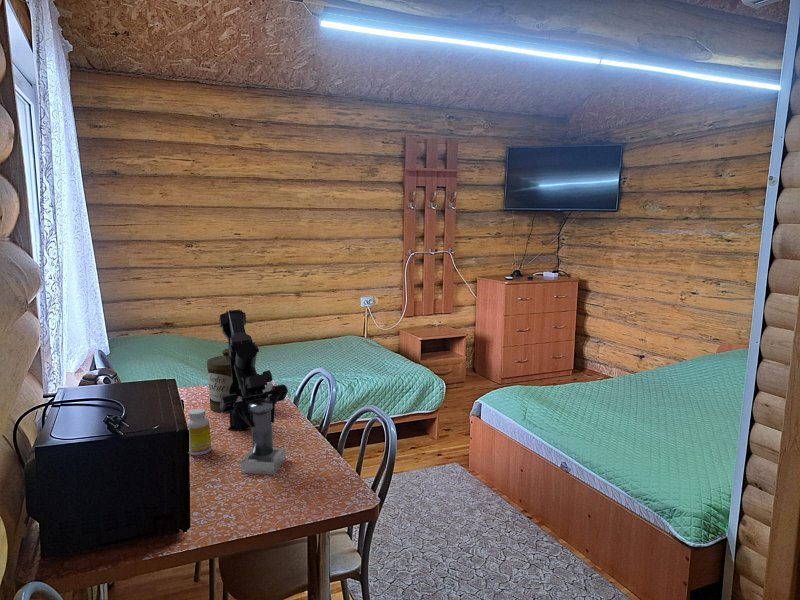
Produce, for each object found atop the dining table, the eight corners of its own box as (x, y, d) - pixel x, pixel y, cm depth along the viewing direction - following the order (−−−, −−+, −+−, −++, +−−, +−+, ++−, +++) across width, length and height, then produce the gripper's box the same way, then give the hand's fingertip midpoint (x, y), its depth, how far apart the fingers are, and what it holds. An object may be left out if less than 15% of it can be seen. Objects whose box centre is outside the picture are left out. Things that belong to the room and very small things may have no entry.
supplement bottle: (215, 451, 172) (212, 410, 170) (194, 458, 167) (191, 416, 165) (204, 445, 176) (201, 405, 174) (184, 451, 172) (181, 411, 170)
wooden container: (201, 410, 208) (197, 352, 204) (228, 397, 221) (224, 343, 218) (233, 415, 202) (230, 355, 199) (259, 402, 216) (256, 346, 212)
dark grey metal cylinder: (247, 456, 158) (244, 407, 155) (256, 446, 164) (253, 398, 162) (270, 457, 157) (267, 408, 154) (278, 447, 164) (275, 399, 161)
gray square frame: (241, 473, 157) (240, 461, 157) (253, 458, 167) (253, 446, 166) (274, 474, 156) (274, 462, 156) (285, 459, 166) (284, 448, 165)
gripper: (220, 367, 155) (235, 418, 147) (284, 357, 165) (301, 404, 158) (213, 388, 162) (227, 437, 155) (275, 376, 173) (291, 422, 165)
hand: (262, 424), depth 158 cm, fingers closed on dark grey metal cylinder, 6 cm apart
